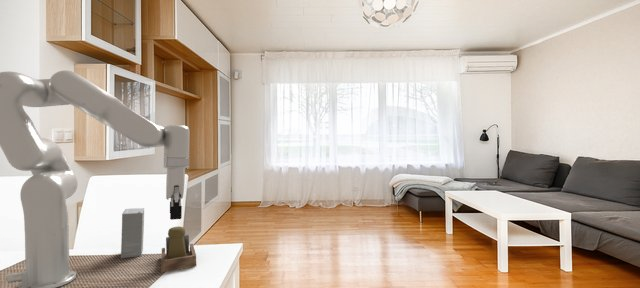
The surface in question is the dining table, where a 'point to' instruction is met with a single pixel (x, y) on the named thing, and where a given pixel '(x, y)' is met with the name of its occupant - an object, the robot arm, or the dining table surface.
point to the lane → (178, 260)
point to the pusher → (186, 241)
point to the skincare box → (132, 232)
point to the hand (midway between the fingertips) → (175, 215)
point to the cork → (176, 243)
